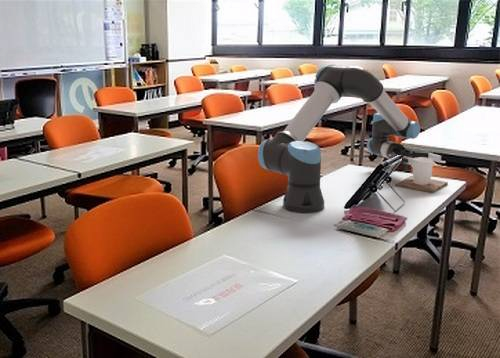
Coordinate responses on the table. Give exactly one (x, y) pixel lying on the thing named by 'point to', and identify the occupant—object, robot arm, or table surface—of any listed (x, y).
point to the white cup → (422, 170)
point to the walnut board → (430, 187)
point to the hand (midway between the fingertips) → (427, 160)
